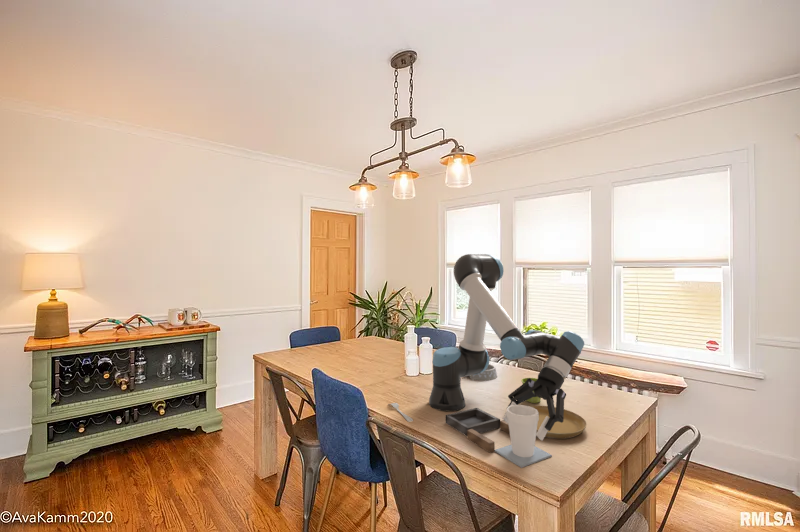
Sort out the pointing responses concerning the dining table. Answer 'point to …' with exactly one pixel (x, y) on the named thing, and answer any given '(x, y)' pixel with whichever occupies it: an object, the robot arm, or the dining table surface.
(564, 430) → the plant saucer
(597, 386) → the dining table surface
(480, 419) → the track
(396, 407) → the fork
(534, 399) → the plant pot
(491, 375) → the dog bowl
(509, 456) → the mat
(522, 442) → the foam cup
